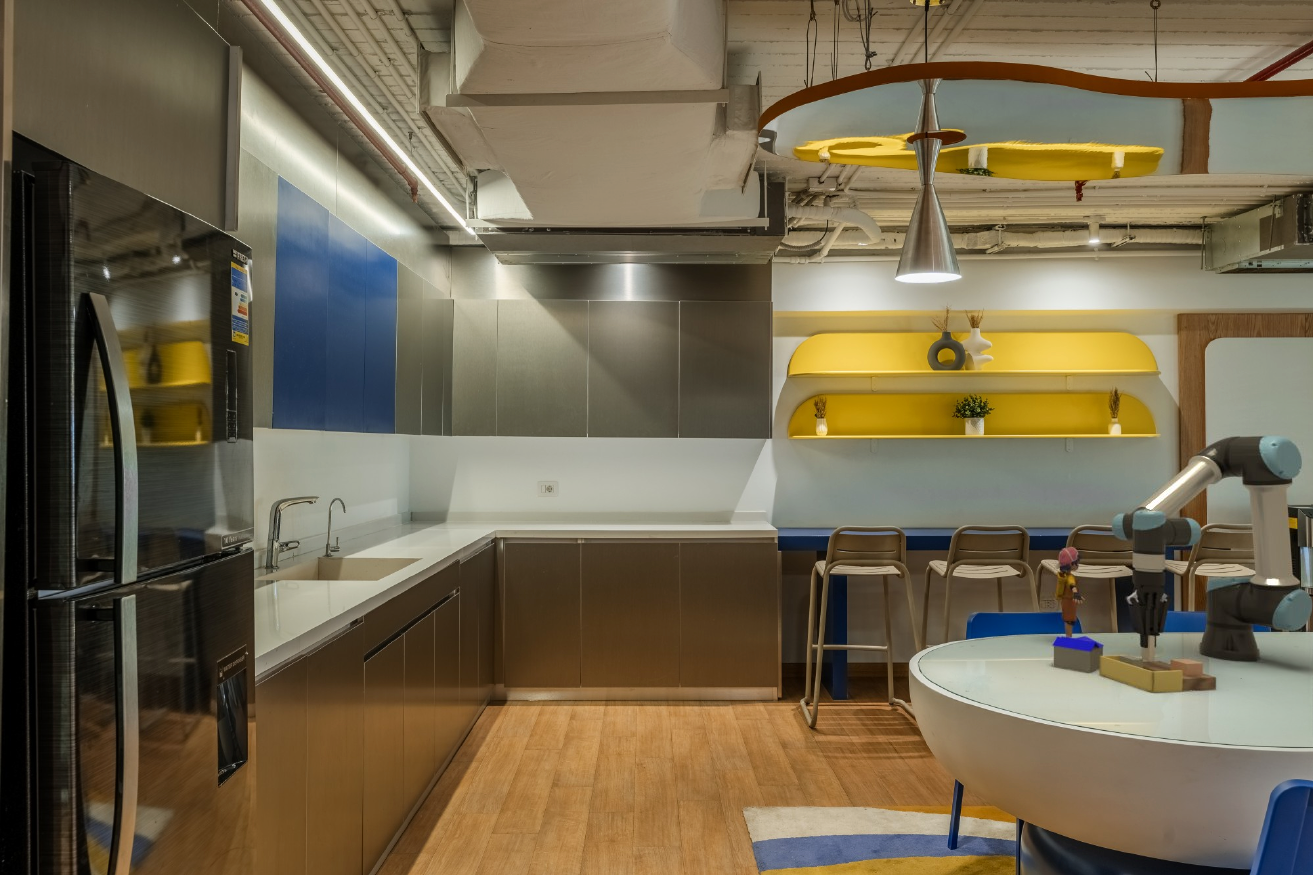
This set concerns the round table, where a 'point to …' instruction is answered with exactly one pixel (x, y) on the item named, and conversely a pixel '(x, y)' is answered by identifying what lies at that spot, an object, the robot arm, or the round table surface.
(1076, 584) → the toy
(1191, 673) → the peach block
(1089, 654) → the house
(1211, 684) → the walnut board
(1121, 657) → the grey square block
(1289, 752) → the round table surface
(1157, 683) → the yellow tray
